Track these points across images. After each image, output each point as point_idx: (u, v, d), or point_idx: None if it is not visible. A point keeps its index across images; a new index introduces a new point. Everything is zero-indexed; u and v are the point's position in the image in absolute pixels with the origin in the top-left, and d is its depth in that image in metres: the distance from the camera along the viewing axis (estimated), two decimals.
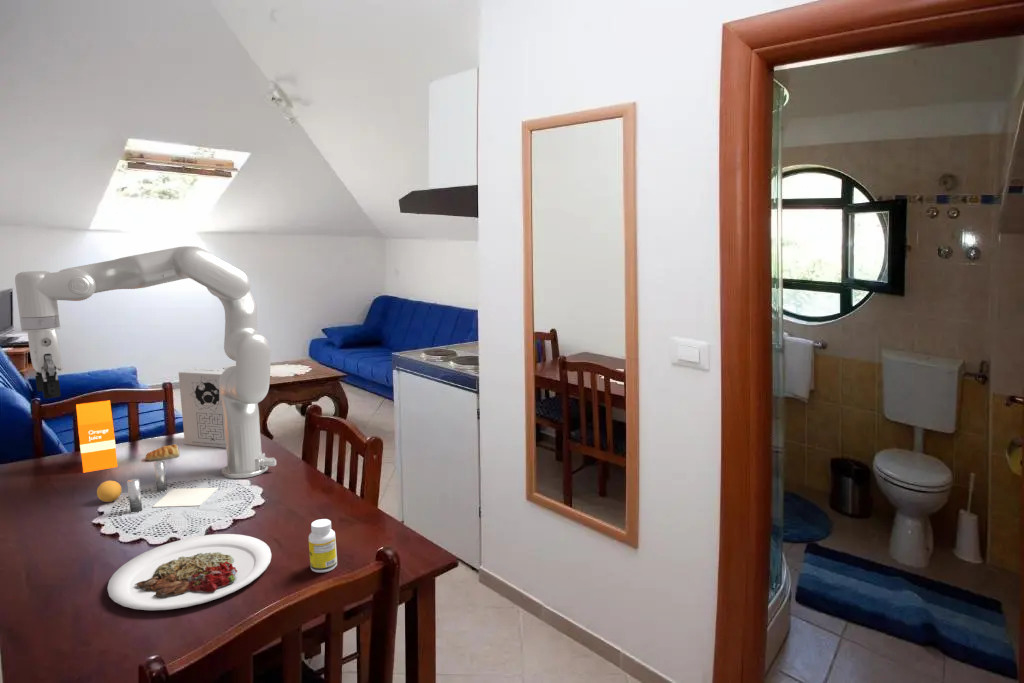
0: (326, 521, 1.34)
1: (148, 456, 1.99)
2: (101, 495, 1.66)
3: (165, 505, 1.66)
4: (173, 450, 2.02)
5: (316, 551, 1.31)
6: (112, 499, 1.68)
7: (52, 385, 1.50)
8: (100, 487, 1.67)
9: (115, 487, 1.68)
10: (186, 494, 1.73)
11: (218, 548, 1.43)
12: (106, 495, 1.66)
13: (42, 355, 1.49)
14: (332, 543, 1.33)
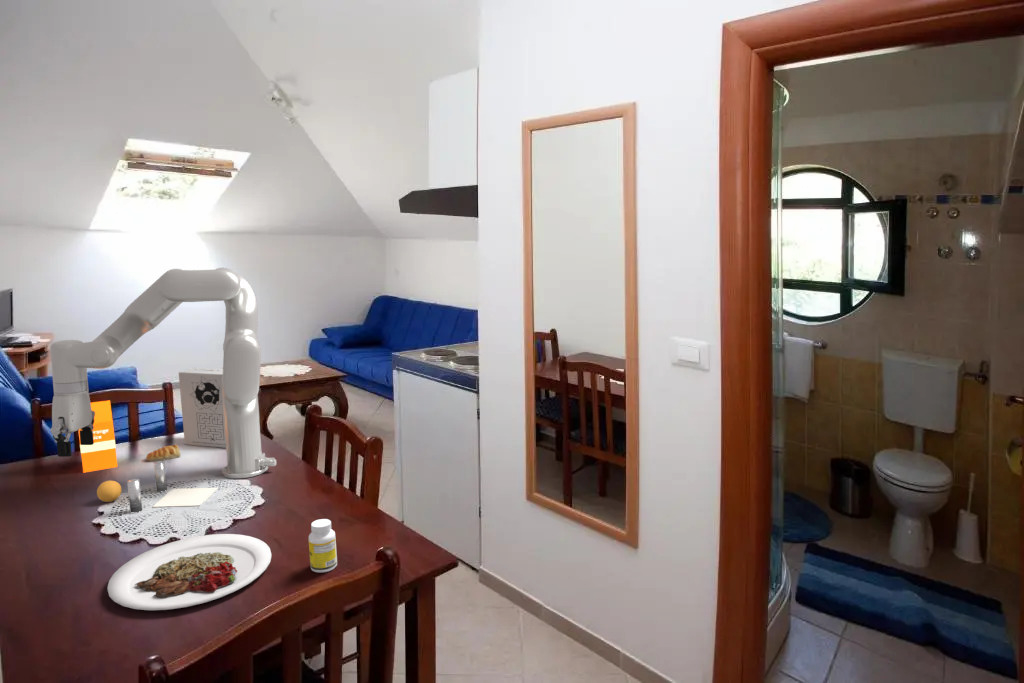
0: (326, 521, 1.34)
1: (149, 456, 1.99)
2: (101, 495, 1.66)
3: (165, 505, 1.66)
4: (174, 451, 2.02)
5: (316, 551, 1.31)
6: (112, 499, 1.68)
7: None
8: (100, 487, 1.67)
9: (115, 487, 1.68)
10: (186, 494, 1.73)
11: (218, 548, 1.43)
12: (106, 495, 1.66)
13: None
14: (332, 543, 1.33)
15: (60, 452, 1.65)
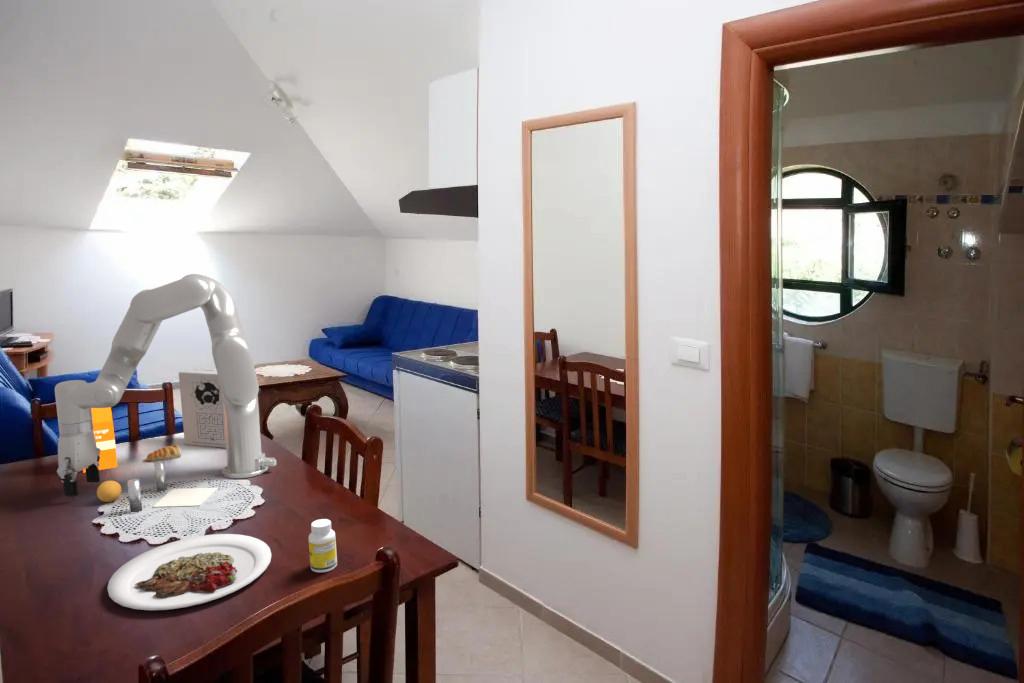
0: (326, 521, 1.34)
1: (150, 457, 1.99)
2: (101, 495, 1.66)
3: (165, 505, 1.66)
4: (174, 451, 2.02)
5: (316, 551, 1.31)
6: (112, 499, 1.68)
7: None
8: (100, 487, 1.67)
9: (115, 487, 1.68)
10: (186, 494, 1.73)
11: (218, 548, 1.43)
12: (106, 495, 1.66)
13: None
14: (332, 543, 1.33)
15: (67, 492, 1.67)
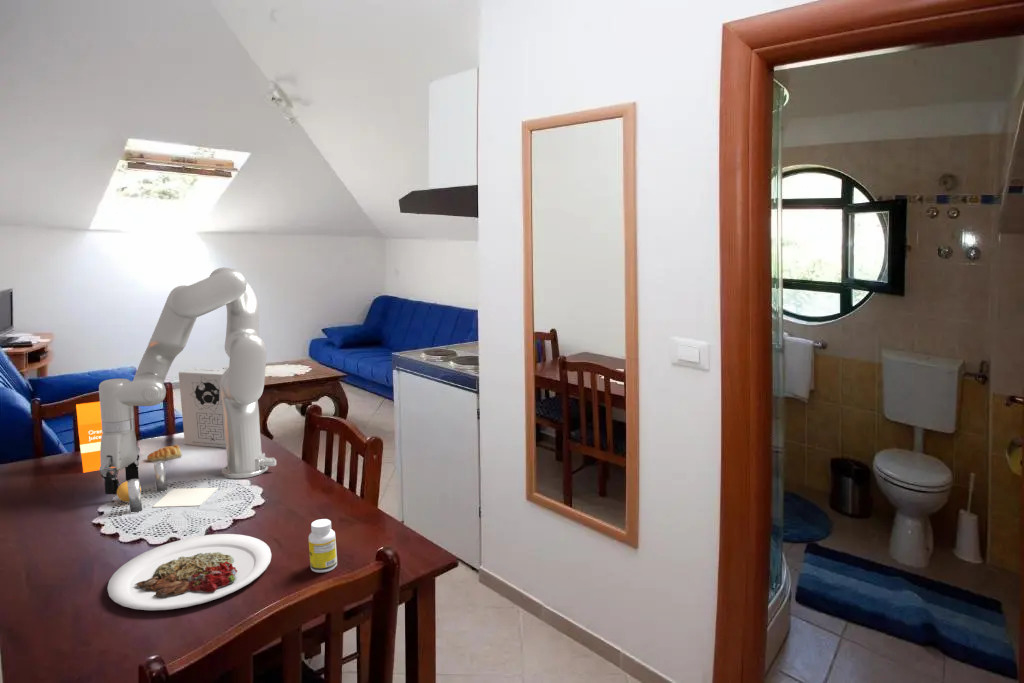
0: (326, 521, 1.34)
1: (150, 457, 1.99)
2: (122, 494, 1.66)
3: (165, 505, 1.66)
4: (175, 451, 2.02)
5: (316, 551, 1.31)
6: (121, 500, 1.67)
7: None
8: None
9: None
10: (186, 494, 1.73)
11: (218, 548, 1.43)
12: (124, 498, 1.66)
13: None
14: (332, 543, 1.33)
15: (108, 490, 1.67)
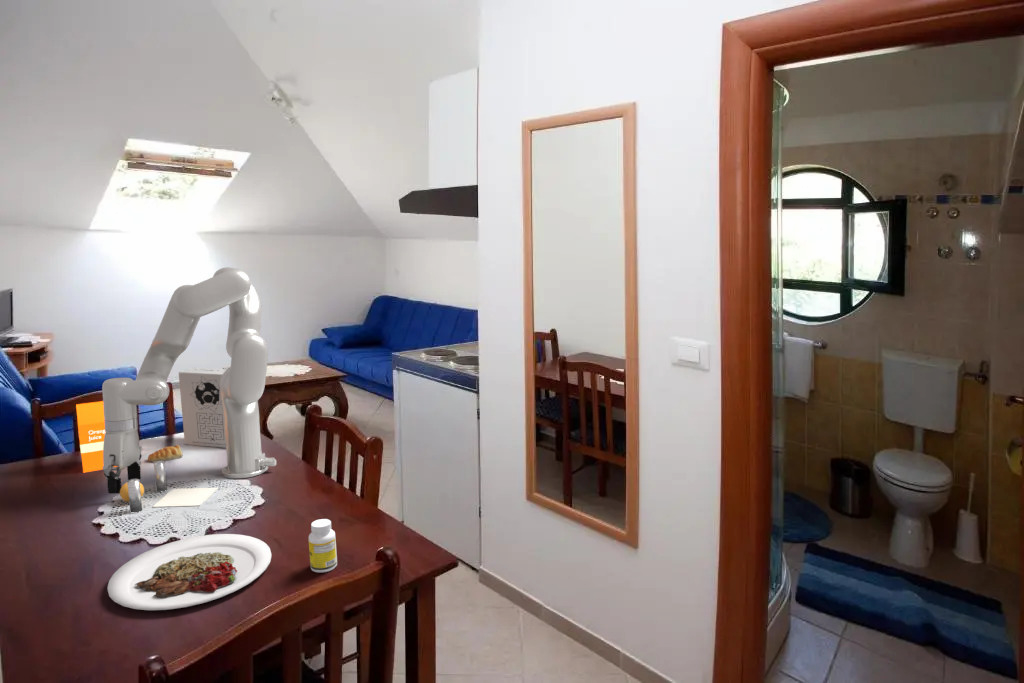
0: (326, 521, 1.34)
1: (151, 457, 1.98)
2: (126, 494, 1.66)
3: (165, 505, 1.66)
4: (176, 451, 2.02)
5: (316, 551, 1.31)
6: (123, 499, 1.67)
7: None
8: None
9: None
10: (186, 494, 1.73)
11: (218, 548, 1.43)
12: (127, 498, 1.66)
13: None
14: (332, 543, 1.33)
15: (110, 489, 1.67)
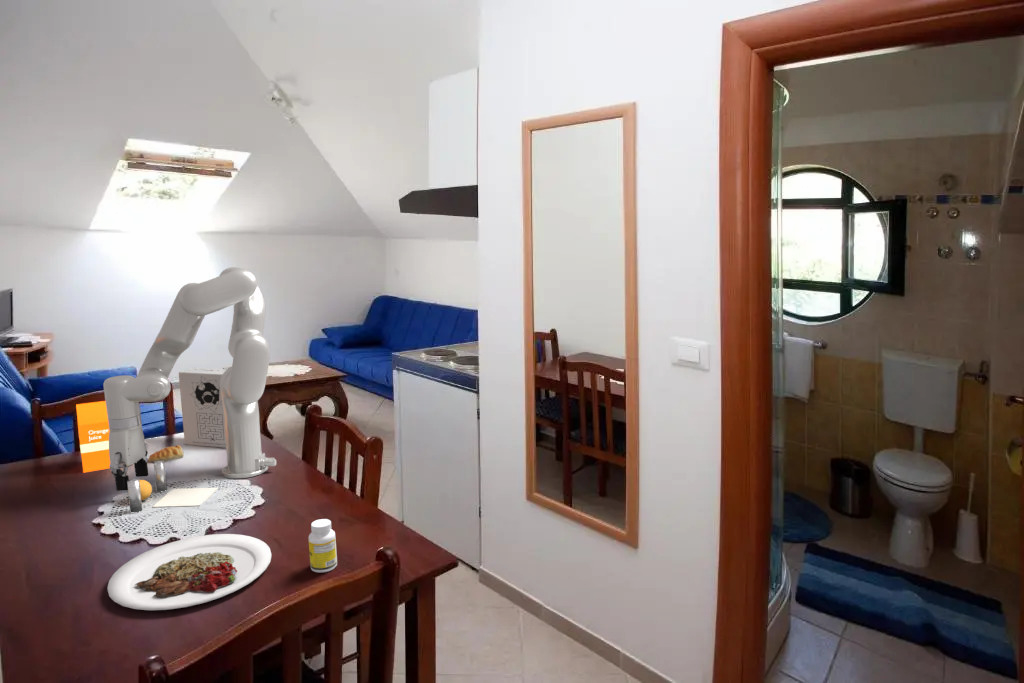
0: (326, 521, 1.34)
1: (152, 457, 1.98)
2: None
3: (165, 505, 1.66)
4: (177, 451, 2.01)
5: (316, 551, 1.31)
6: (128, 494, 1.68)
7: None
8: (144, 492, 1.67)
9: None
10: (186, 494, 1.73)
11: (218, 548, 1.43)
12: None
13: None
14: (332, 543, 1.33)
15: (119, 486, 1.68)
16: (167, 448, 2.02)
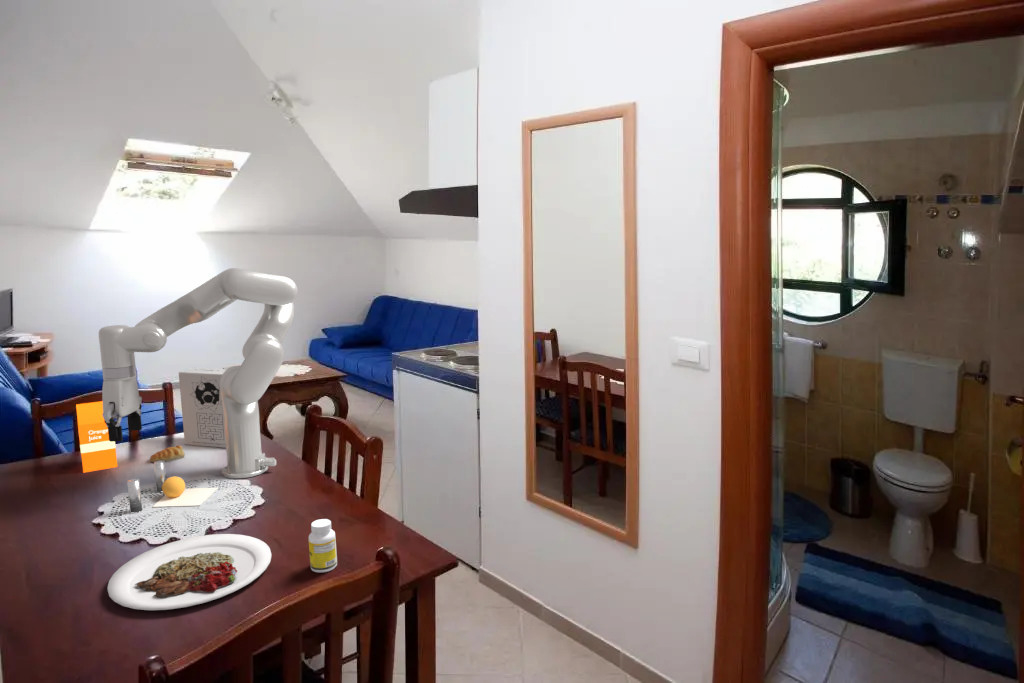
0: (326, 521, 1.34)
1: (154, 458, 1.98)
2: (174, 492, 1.69)
3: (165, 505, 1.66)
4: (178, 451, 2.01)
5: (316, 551, 1.31)
6: (182, 484, 1.71)
7: None
8: (165, 492, 1.69)
9: (170, 479, 1.70)
10: (186, 494, 1.73)
11: (218, 548, 1.43)
12: (175, 487, 1.69)
13: None
14: (332, 543, 1.33)
15: (111, 437, 1.66)
16: (168, 448, 2.01)
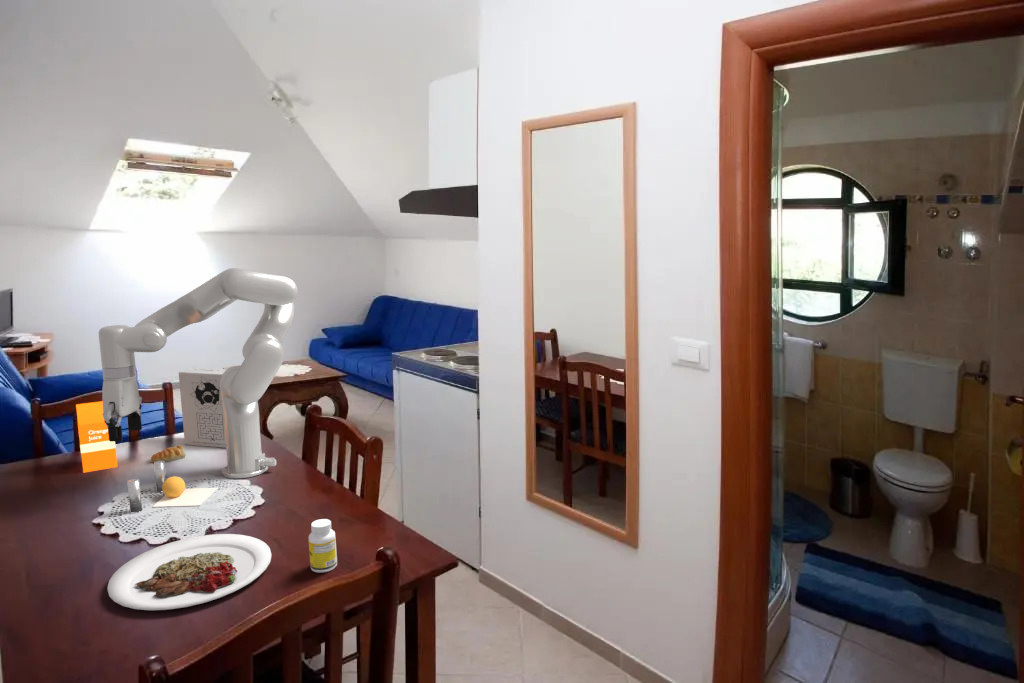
0: (326, 521, 1.34)
1: (154, 458, 1.98)
2: (174, 492, 1.69)
3: (165, 505, 1.66)
4: (179, 452, 2.01)
5: (316, 551, 1.31)
6: (182, 484, 1.71)
7: None
8: (165, 492, 1.69)
9: (170, 479, 1.70)
10: (186, 494, 1.73)
11: (218, 548, 1.43)
12: (175, 487, 1.69)
13: None
14: (332, 543, 1.33)
15: (111, 437, 1.66)
16: (169, 449, 2.01)
